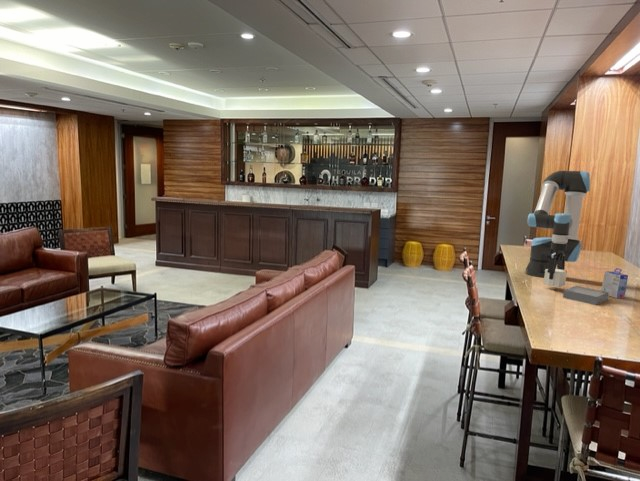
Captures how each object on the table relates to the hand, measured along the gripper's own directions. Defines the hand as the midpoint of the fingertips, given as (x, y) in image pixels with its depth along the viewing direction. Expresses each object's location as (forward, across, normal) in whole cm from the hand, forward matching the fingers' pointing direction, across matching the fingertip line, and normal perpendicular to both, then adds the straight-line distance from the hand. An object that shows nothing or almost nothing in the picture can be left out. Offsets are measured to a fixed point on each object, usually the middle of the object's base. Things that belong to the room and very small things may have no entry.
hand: (554, 283), depth 246 cm
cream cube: (0, 0, 0) cm, 0 cm away
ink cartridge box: (+3, +14, -24) cm, 28 cm away
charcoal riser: (+3, -6, -18) cm, 19 cm away
